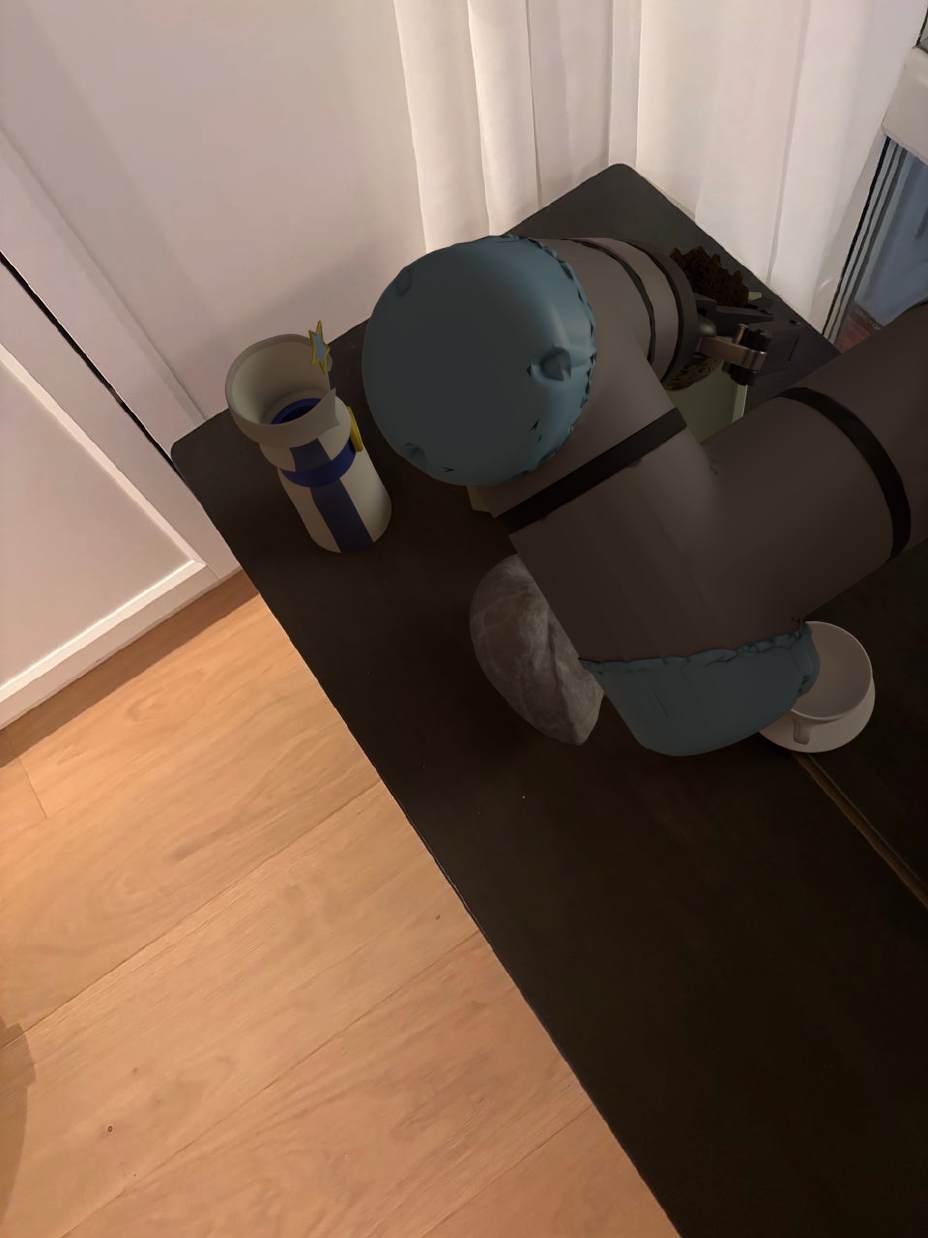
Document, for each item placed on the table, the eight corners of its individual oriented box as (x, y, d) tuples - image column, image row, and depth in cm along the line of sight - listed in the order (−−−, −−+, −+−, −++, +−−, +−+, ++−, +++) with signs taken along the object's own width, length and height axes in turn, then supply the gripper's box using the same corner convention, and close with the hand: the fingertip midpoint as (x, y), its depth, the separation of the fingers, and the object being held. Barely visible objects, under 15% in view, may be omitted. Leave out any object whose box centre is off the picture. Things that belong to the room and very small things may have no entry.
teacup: (746, 615, 71) (756, 592, 67) (880, 641, 69) (899, 620, 65) (725, 737, 68) (734, 721, 64) (864, 768, 66) (883, 754, 62)
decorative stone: (649, 734, 69) (664, 677, 55) (521, 780, 69) (504, 735, 55) (578, 565, 75) (575, 474, 61) (459, 608, 75) (429, 527, 61)
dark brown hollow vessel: (752, 380, 61) (775, 300, 54) (665, 439, 61) (676, 366, 53) (681, 311, 64) (694, 225, 57) (596, 366, 63) (598, 287, 56)
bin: (718, 546, 74) (728, 513, 68) (472, 510, 78) (463, 476, 72) (749, 337, 80) (761, 292, 75) (521, 313, 84) (516, 269, 79)
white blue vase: (382, 455, 81) (300, 250, 58) (406, 537, 78) (329, 356, 54) (294, 483, 81) (176, 290, 58) (314, 566, 78) (198, 397, 55)
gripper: (386, 340, 45) (544, 310, 64) (783, 488, 40) (827, 406, 59) (419, 178, 42) (576, 196, 61) (859, 315, 36) (880, 288, 55)
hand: (699, 300), depth 60 cm, fingers closed on dark brown hollow vessel, 7 cm apart
